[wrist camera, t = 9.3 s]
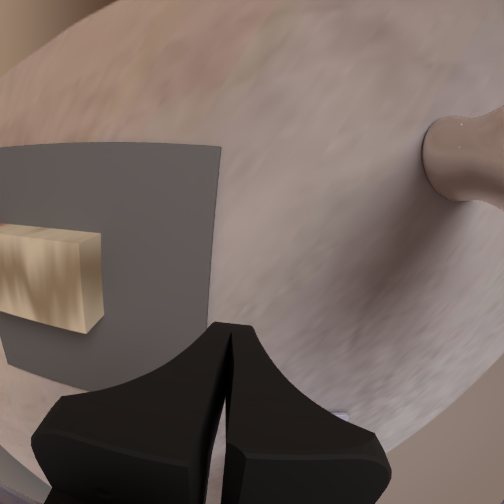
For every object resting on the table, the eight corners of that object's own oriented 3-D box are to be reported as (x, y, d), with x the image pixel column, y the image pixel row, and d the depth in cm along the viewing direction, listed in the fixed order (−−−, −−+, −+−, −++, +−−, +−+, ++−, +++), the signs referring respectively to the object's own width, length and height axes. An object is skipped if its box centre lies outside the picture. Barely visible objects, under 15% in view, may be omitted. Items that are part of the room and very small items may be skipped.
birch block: (86, 333, 18) (-14, 306, 18) (104, 314, 21) (7, 293, 21) (79, 243, 17) (-24, 230, 17) (100, 233, 20) (0, 223, 20)
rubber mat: (203, 411, 24) (202, 414, 23) (10, 361, 24) (8, 363, 23) (221, 147, 19) (220, 146, 18) (-13, 149, 18) (-16, 149, 18)
